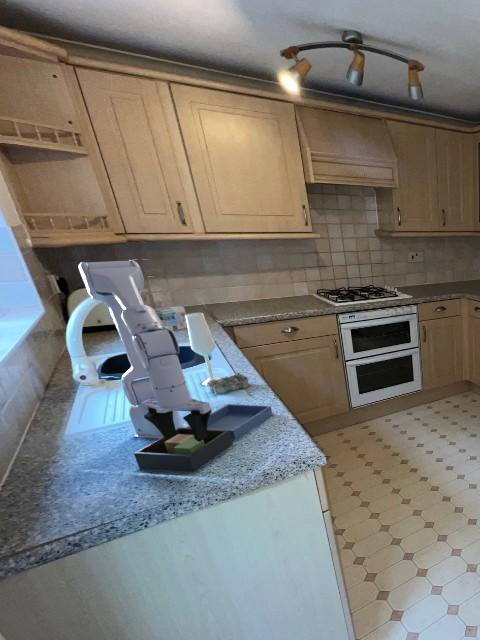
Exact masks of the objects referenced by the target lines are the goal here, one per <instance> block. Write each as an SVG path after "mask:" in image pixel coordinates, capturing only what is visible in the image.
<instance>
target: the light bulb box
mask: <svg viewBox="0 0 480 640" xmlns="http://www.w3.org/2000/svg"><path fill="white" fill-rule="evenodd" d="M153 309H154V308H153ZM154 310H155V312H156V314H157V315H158V317H159V319H160V320H161V322H162V324H163V325H164V326H167V327H168V328H170V329H171V330H172V332H174V331H179V330H183V329H188V327H187V321H186V315H187V313H186V309H185V307H184V306H179V305H174V306H167V307H162V308H156V309H154Z"/></svg>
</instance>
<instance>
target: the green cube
mask: <svg viewBox="0 0 480 640" xmlns="http://www.w3.org/2000/svg"><path fill="white" fill-rule="evenodd" d="M203 445H205V444H204V440H202V441H200V442H199V441H197V440H193V439H187V440H186V441H184V442H182V443H181V444H179V445H177V446H176V447H174V450H175V453H176V454H180V455H190V454H191V453H193V452H194V451H196V450H197V449H199V448H200V447H202V446H203Z"/></svg>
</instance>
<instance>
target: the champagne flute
mask: <svg viewBox="0 0 480 640" xmlns="http://www.w3.org/2000/svg"><path fill="white" fill-rule="evenodd" d="M186 321H187V327H188V328H187V332H188V338H189V344H190V349H191V350H192V351H193V352H194V353H195V354H197V355H199V356H202V357H203V358H204V361H205V365H206V367H207V368H206V369H207V373H208V375H209V377H208V378H207V379H205V380H204V381H203V382H201V386H206V387H207V386H208V387H209V385H207V383H208V382H209V381H211V380H218V379H221V378H222V377H217V376H214V375H215V374H214V372H213V369H212V364H211V361H210V357H209V355H211V354H212V353H213V352H214V350H215V348H216V343H215V340H214V337H213V335H212V333H211V330H210V328H209V327H210V326H209V324H208V322H207V319H206V317H205V314H204V313H203V312H191V313H186Z"/></svg>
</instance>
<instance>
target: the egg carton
mask: <svg viewBox="0 0 480 640" xmlns="http://www.w3.org/2000/svg"><path fill="white" fill-rule="evenodd" d="M220 378H221V379H218V380H211V381H209V382H208V383H207V385H209V386H208V387H209V391H210V393H214V394H215V395H219V394H225V393H226V392H228V391H237V390H239V389H247V388H248V387H249V386H250V384H249V381H250V378H248V377H247V376H246V375H244V374H242V373H241V372H237V373H236V374H233V375H230V376H225V377H220Z"/></svg>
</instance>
